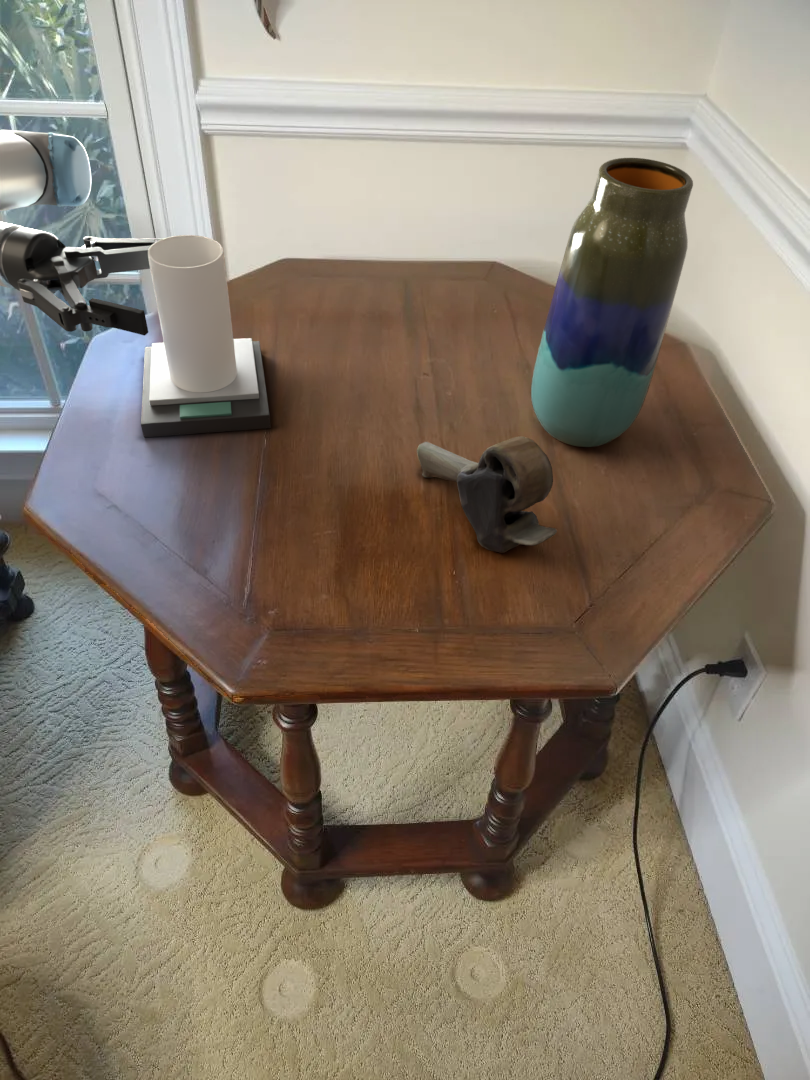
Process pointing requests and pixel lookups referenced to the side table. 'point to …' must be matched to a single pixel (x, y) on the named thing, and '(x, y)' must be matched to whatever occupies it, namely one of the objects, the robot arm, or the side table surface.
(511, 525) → the grey two-tone handled device
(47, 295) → the robot arm
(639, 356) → the vase
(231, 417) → the scale
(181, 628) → the side table surface
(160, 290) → the cup
